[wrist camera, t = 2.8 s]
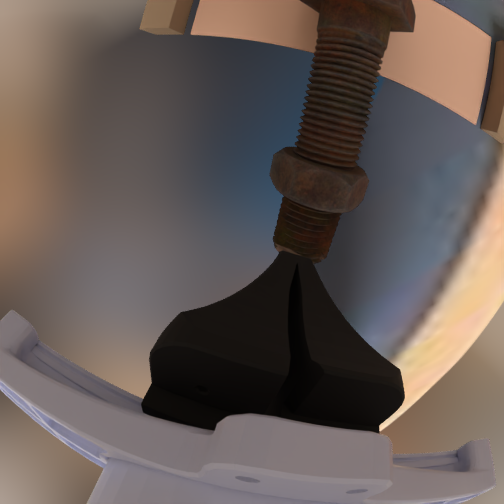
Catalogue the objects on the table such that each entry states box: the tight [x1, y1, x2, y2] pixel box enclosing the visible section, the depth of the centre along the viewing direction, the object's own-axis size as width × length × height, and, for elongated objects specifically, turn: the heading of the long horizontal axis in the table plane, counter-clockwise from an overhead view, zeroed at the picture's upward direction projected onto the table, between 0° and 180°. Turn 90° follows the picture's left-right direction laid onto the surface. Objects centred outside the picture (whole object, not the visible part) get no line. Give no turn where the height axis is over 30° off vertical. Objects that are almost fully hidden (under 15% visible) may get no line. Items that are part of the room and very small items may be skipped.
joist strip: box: [140, 0, 504, 144], centre depth 9 cm, size 7×23×2 cm, turn 78°
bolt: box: [270, 0, 416, 264], centre depth 12 cm, size 6×5×15 cm
